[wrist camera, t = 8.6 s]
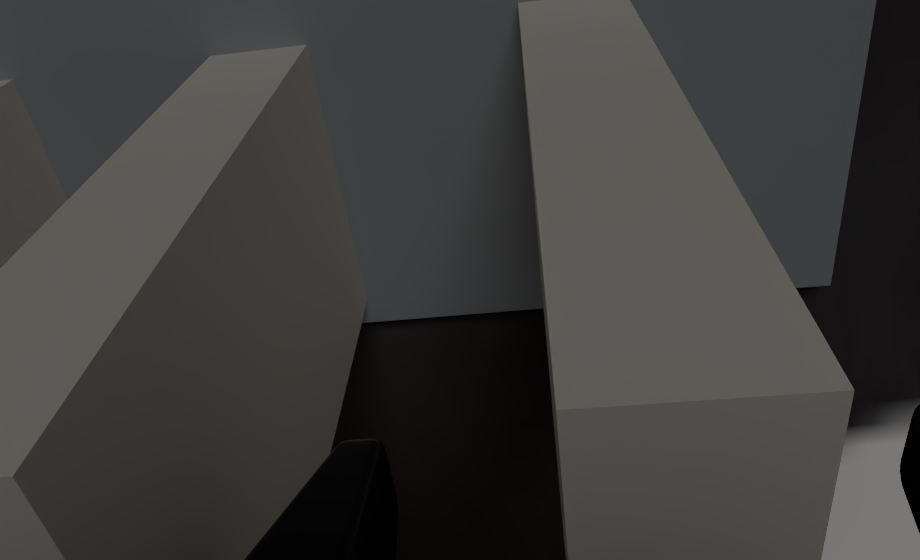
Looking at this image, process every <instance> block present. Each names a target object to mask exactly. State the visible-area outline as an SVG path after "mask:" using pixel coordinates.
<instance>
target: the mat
mask: <svg viewBox="0 0 920 560" xmlns="http://www.w3.org/2000/svg"><path fill="white" fill-rule="evenodd" d="M529 1H537V0H0V81H3V80H12V79H13V81H14V83H15V85H16V87H17V90H18V92H19V94H20V96H21V99H22V101H23V103H24V105H25V107H26V110H27V112H28V114H29V116H30V118H31V121H32V123H33V125H34V127H35V130H36V132H37V134H38V136H39V138H40V141H41V143H42V145H43V147H44V149H45V152H46V154H47V156H48V158H49V160H50V163H51V165H52V167H53V169H54V172H55V174H56V176H57V178H58V180H59V183H60V185H61V187H62V189H63V191H64V194H65V196H66V198H67V200H68V199H69V198H70V197H71V196H72V195H73V194H74V193H75V192H76V191H77V190H78V189H79V188H80V187H81V186H82V185H83V184H84V183H85V182H86V181H87V180H88V179H89V178H90V177H91V176H92V175H93V174H94V173H95V172H96V171H97V170H98V169H99V168H100V167H101V166H102V165H103V164H104V163H105V162H106V161H107V160H108V159H109V158H110V157H111V156H112V155H113V154H114V153H115V152H116V151H117V150H118V149H119V148H120V147H121V146H122V145H123V144H124V143H125V142H126V141H127V140H128V139H129V138H130V137H131V136H132V135H133V133H134V132H135V131H136V130H137V129H138V128H139V127H140V126H141V125H142V124H143V123H144V122H145V121H146V120H147V119H148V118H149V117H150V116H151V115H152V114H153V113H154V112H155V111H156V110H157V109H158V108H159V107H160V106H161V105H162V104H163V103H164V102H165V101H166V100H167V99H168V98H169V97H170V96H171V95H172V94H173V93H174V92H175V91H176V90H177V89H178V88H179V87H180V86H181V85H182V84H183V83H184V82H185V81H186V80H187V79H188V78H189V77H190V76H191V75H192V74H193V73H194V72H195V71H196V70H197V69H198V68H199V67H200V66H201V65H202V64H203V63H204V62H205V61H206V60H207V59H208V58H209V57H210V56H214V55H223V54H231V53H240V52H248V51H257V50H265V49H274V48H282V47H291V46H299V45H307V48H308V52H309V56H310V61H311V65H312V69H313V73H314V78H315V82H316V86H317V91H318V95H319V99H320V103H321V108H322V112H323V116H324V120H325V125H326V129H327V133H328V138H329V142H330V146H331V150H332V155H333V159H334V163H335V167H336V172H337V176H338V180H339V184H340V189H341V193H342V197H343V202H344V206H345V210H346V214H347V219H348V223H349V227H350V231H351V236H352V240H353V244H354V248H355V253H356V257H357V261H358V266H359V270H360V274H361V278H362V283H363V287H364V291H365V295H366V300H367V303H366V307H365V311H364V316H363V320H362V323H367V322H379V321H392V320H404V319H417V318H429V317H442V316H454V315H466V314H479V313H491V312H504V311H516V310H529V309H541V308H544V307H543V295H542V284H541V273H540V261H539V249H538V237H537V225H536V213H535V201H534V189H533V177H532V165H531V154H530V142H529V130H528V118H527V106H526V94H525V82H524V70H523V58H522V46H521V34H520V23H519V11H518V3H521V2H529ZM630 1H631V3H632V5H633V6H634V8H635V10H636V12H637V13H638V15H639V17H640V19H641V20H642V22H643V24H644V26H645V27H646V29H647V31H648V32H649V34H650V36H651V38H652V39H653V41H654V43H655V45H656V46H657V48H658V50H659V52H660V53H661V55H662V57H663V59H664V60H665V62H666V64H667V65H668V67H669V69H670V71H671V72H672V74H673V76H674V78H675V79H676V81H677V83H678V85H679V86H680V88H681V90H682V92H683V93H684V95H685V97H686V99H687V100H688V102H689V104H690V105H691V107H692V109H693V111H694V112H695V114H696V116H697V118H698V119H699V121H700V123H701V125H702V126H703V128H704V130H705V132H706V133H707V135H708V137H709V138H710V140H711V142H712V144H713V145H714V147H715V149H716V151H717V152H718V154H719V156H720V158H721V159H722V161H723V163H724V165H725V166H726V168H727V170H728V171H729V173H730V175H731V177H732V178H733V180H734V182H735V184H736V185H737V187H738V189H739V191H740V192H741V194H742V196H743V198H744V199H745V201H746V203H747V204H748V206H749V208H750V210H751V211H752V213H753V215H754V217H755V218H756V220H757V222H758V224H759V225H760V227H761V229H762V231H763V232H764V234H765V236H766V237H767V239H768V241H769V243H770V244H771V246H772V248H773V250H774V251H775V253H776V255H777V257H778V258H779V260H780V262H781V264H782V265H783V267H784V269H785V270H786V272H787V274H788V276H789V277H790V279H791V281H792V283H793V284H794V286H795V288H803V287H815V286H827V285H831V279H832V272H833V266H834V260H835V254H836V248H837V241H838V235H839V229H840V223H841V217H842V210H843V204H844V198H845V192H846V185H847V179H848V173H849V167H850V161H851V154H852V148H853V142H854V136H855V130H856V123H857V117H858V111H859V105H860V98H861V92H862V86H863V80H864V74H865V67H866V61H867V55H868V49H869V43H870V36H871V30H872V24H873V18H874V11H875V5H876V0H630Z"/></svg>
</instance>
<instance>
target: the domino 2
mask: <svg viewBox="0 0 920 560" xmlns="http://www.w3.org/2000/svg"><path fill="white" fill-rule="evenodd" d="M366 303H367V300H366V295H365V291H364V287H363V283H362V278H361V274H360V270H359V266H358V261H357V257H356V253H355V248H354V244H353V240H352V236H351V231H350V227H349V223H348V219H347V214H346V210H345V206H344V202H343V197H342V193H341V189H340V184H339V180H338V176H337V172H336V167H335V163H334V159H333V155H332V150H331V146H330V142H329V138H328V133H327V129H326V125H325V120H324V116H323V112H322V108H321V103H320V99H319V95H318V91H317V86H316V82H315V78H314V73H313V69H312V65H311V61H310V56H309V52H308V48H307V45H299V46H291V47H282V48H274V49H265V50H257V51H248V52H240V53H231V54H223V55H214V56H210V57H209V58H208V59H207V60H206V61H205V62H204V63H203V64H202V65H201V66H200V67H199V68H198V69H197V70H196V71H195V72H194V73H193V74H192V75H191V76H190V77H189V78H188V79H187V80H186V81H185V82H184V83H183V84H182V85H181V86H180V87H179V88H178V89H177V90H176V91H175V92H174V93H173V94H172V95H171V96H170V97H169V98H168V99H167V100H166V101H165V102H164V103H163V104H162V105H161V106H160V107H159V108H158V109H157V110H156V111H155V112H154V113H153V114H152V115H151V116H150V117H149V118H148V119H147V120H146V121H145V122H144V123H143V124H142V125H141V126H140V127H139V128H138V129H137V130H136V131H135V132H134V133H133V135H132V136H131V137H130V138H129V139H128V140H127V141H126V142H125V143H124V144H123V145H122V146H121V147H120V148H119V149H118V150H117V151H116V152H115V153H114V154H113V155H112V156H111V157H110V158H109V159H108V160H107V161H106V162H105V163H104V164H103V165H102V166H101V167H100V168H99V169H98V170H97V171H96V172H95V173H94V174H93V175H92V176H91V177H90V178H89V179H88V180H87V181H86V182H85V183H84V184H83V185H82V186H81V187H80V188H79V189H78V190H77V191H76V192H75V193H74V194H73V195H72V196H71V197H70V198H69V199H68V200H67V201H66V202H65V203H64V204H63V205H62V206H61V207H60V208H59V209H58V210H57V211H56V212H55V213H54V214H53V215H52V216H51V217H50V218H49V219H48V221H47V222H46V223H45V224H44V225H43V226H42V227H41V228H40V229H39V230H38V231H37V232H36V233H35V234H34V235H33V236H32V237H31V238H30V239H29V240H28V241H27V242H26V243H25V244H24V245H23V246H22V247H21V248H20V249H19V250H18V251H17V252H16V253H15V254H14V255H13V256H12V257H11V258H10V259H9V260H8V261H7V262H6V263H5V264H4V265H3V266H2V267H1V268H0V560H244V559H245V558H246V557H247V555H248V554H249V553H250V552H251V550H252V549H253V548H254V547H255V546H256V544H257V543H258V542H259V541H260V539H261V538H262V537H263V536H264V534H265V533H266V532H267V531H268V530H269V528H270V527H271V526H272V525H273V523H274V522H275V521H276V520H277V518H278V517H279V516H280V515H281V514H282V512H283V511H284V510H285V509H286V507H287V506H288V505H289V504H290V502H291V501H292V500H293V499H294V498H295V496H296V495H297V494H298V493H299V491H300V490H301V489H302V488H303V486H304V485H305V484H306V483H307V481H308V480H309V479H310V478H311V477H312V475H313V474H314V473H315V472H316V470H317V469H318V468H319V467H320V465H321V464H322V463H323V462H324V461H325V459H326V458H327V457H328V456H329V454H330V452H331V448H332V444H333V440H334V436H335V432H336V428H337V423H338V419H339V415H340V411H341V407H342V403H343V399H344V394H345V390H346V386H347V382H348V378H349V374H350V369H351V365H352V361H353V357H354V353H355V349H356V345H357V340H358V336H359V332H360V328H361V324H362V320H363V316H364V311H365V307H366Z"/></svg>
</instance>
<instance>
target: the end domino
mask: <svg viewBox="0 0 920 560" xmlns="http://www.w3.org/2000/svg"><path fill="white" fill-rule="evenodd" d="M518 11H519V23H520V34H521V46H522V58H523V70H524V82H525V94H526V106H527V118H528V130H529V142H530V154H531V165H532V177H533V189H534V201H535V213H536V225H537V237H538V249H539V261H540V273H541V284H542V295H543V307H544V318H545V329H546V340H547V352H548V363H549V374H550V386H551V397H552V408H553V420H554V431H555V442H556V453H557V465H558V476H559V487H560V499H561V510H562V521H563V532H564V544H565V555H566V560H821V556H822V551H823V546H824V540H825V536H826V531H827V526H828V521H829V516H830V510H831V505H832V500H833V495H834V490H835V485H836V480H837V475H838V470H839V465H840V460H841V455H842V450H843V445H844V440H845V435H846V430H847V425H848V420H849V415H850V410H851V405H852V400H853V394H854V389H853V387H852V385H851V383H850V382H849V380H848V378H847V376H846V375H845V373H844V371H843V370H842V368H841V366H840V364H839V363H838V361H837V359H836V357H835V356H834V354H833V352H832V350H831V349H830V347H829V345H828V343H827V342H826V340H825V338H824V337H823V335H822V333H821V331H820V330H819V328H818V326H817V324H816V323H815V321H814V319H813V317H812V316H811V314H810V312H809V310H808V309H807V307H806V305H805V304H804V302H803V300H802V298H801V297H800V295H799V293H798V291H797V290H796V288H795V286H794V284H793V283H792V281H791V279H790V277H789V276H788V274H787V272H786V270H785V269H784V267H783V265H782V264H781V262H780V260H779V258H778V257H777V255H776V253H775V251H774V250H773V248H772V246H771V244H770V243H769V241H768V239H767V237H766V236H765V234H764V232H763V231H762V229H761V227H760V225H759V224H758V222H757V220H756V218H755V217H754V215H753V213H752V211H751V210H750V208H749V206H748V204H747V203H746V201H745V199H744V198H743V196H742V194H741V192H740V191H739V189H738V187H737V185H736V184H735V182H734V180H733V178H732V177H731V175H730V173H729V171H728V170H727V168H726V166H725V165H724V163H723V161H722V159H721V158H720V156H719V154H718V152H717V151H716V149H715V147H714V145H713V144H712V142H711V140H710V138H709V137H708V135H707V133H706V132H705V130H704V128H703V126H702V125H701V123H700V121H699V119H698V118H697V116H696V114H695V112H694V111H693V109H692V107H691V105H690V104H689V102H688V100H687V99H686V97H685V95H684V93H683V92H682V90H681V88H680V86H679V85H678V83H677V81H676V79H675V78H674V76H673V74H672V72H671V71H670V69H669V67H668V65H667V64H666V62H665V60H664V59H663V57H662V55H661V53H660V52H659V50H658V48H657V46H656V45H655V43H654V41H653V39H652V38H651V36H650V34H649V32H648V31H647V29H646V27H645V26H644V24H643V22H642V20H641V19H640V17H639V15H638V13H637V12H636V10H635V8H634V6H633V5H632V3H631V1H630V0H537V1H529V2H521V3H518Z"/></svg>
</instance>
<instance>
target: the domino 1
mask: <svg viewBox="0 0 920 560" xmlns="http://www.w3.org/2000/svg"><path fill="white" fill-rule="evenodd" d="M66 201H67V198H66V196H65V194H64V191H63V189H62V187H61V185H60V183H59V180H58V178H57V176H56V174H55V172H54V169H53V167H52V165H51V163H50V160H49V158H48V156H47V154H46V152H45V149H44V147H43V145H42V143H41V141H40V138H39V136H38V134H37V132H36V130H35V127H34V125H33V123H32V121H31V118H30V116H29V114H28V112H27V110H26V107H25V105H24V103H23V101H22V99H21V96H20V94H19V92H18V90H17V87H16V85H15V83H14V81H13V79H12V80H3V81H0V268H1V267H2V266H3V265H4V264H5V263H6V262H7V261H8V260H9V259H10V258H11V257H12V256H13V255H14V254H15V253H16V252H17V251H18V250H19V249H20V248H21V247H22V246H23V245H24V244H25V243H26V242H27V241H28V240H29V239H30V238H31V237H32V236H33V235H34V234H35V233H36V232H37V231H38V230H39V229H40V228H41V227H42V226H43V225H44V224H45V223H46V222H47V221H48V219H49V218H50V217H51V216H52V215H53V214H54V213H55V212H56V211H57V210H58V209H59V208H60V207H61V206H62V205H63V204H64V203H65V202H66Z"/></svg>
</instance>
